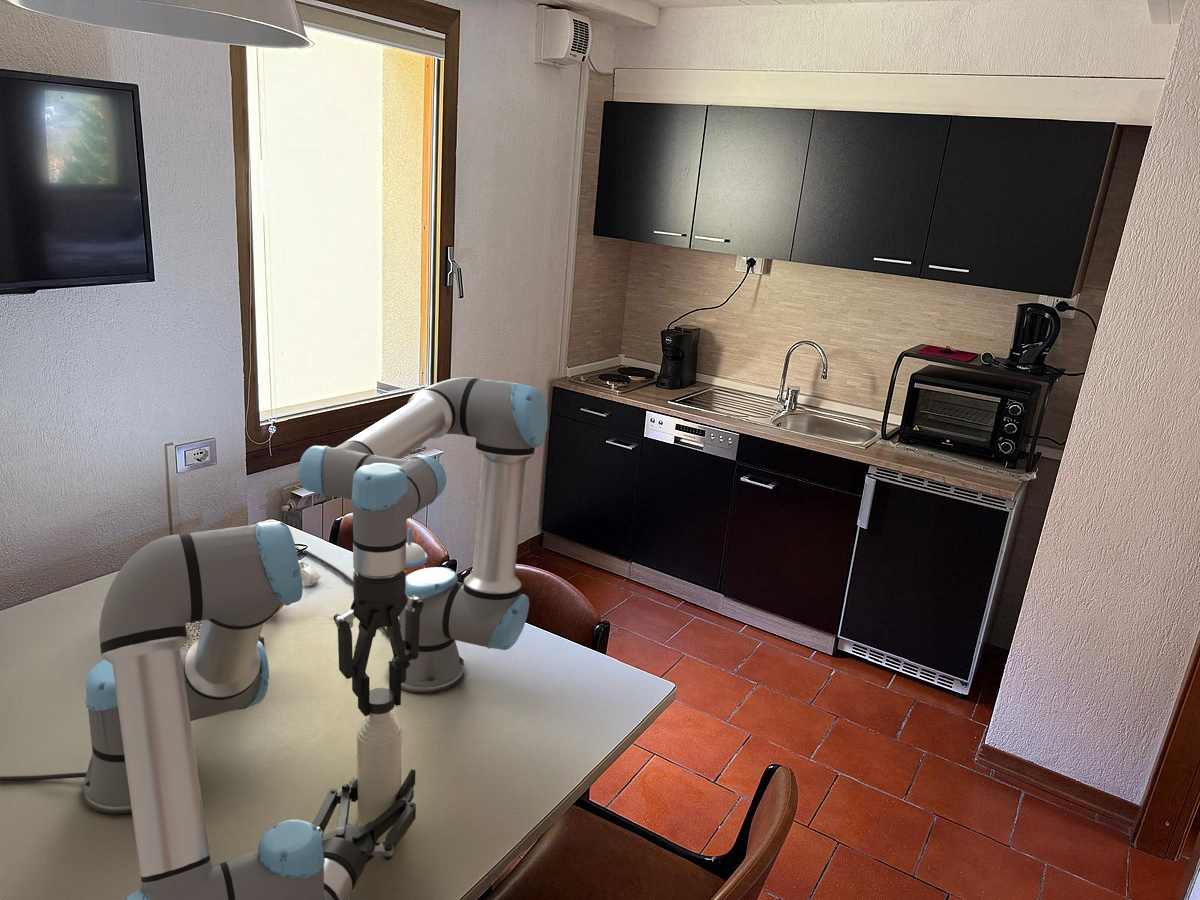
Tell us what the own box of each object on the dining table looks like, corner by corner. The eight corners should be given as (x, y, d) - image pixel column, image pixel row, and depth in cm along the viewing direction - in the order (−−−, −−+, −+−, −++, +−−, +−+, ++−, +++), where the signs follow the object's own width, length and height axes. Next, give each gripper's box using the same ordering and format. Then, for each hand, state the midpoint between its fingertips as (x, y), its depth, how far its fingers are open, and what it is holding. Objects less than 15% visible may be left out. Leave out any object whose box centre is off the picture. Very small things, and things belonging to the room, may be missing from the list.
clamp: (253, 565, 223) (254, 542, 221) (265, 560, 226) (266, 537, 224) (309, 593, 215) (310, 569, 213) (320, 588, 218) (321, 564, 216)
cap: (399, 700, 134) (399, 690, 133) (387, 716, 130) (387, 706, 129) (371, 695, 135) (371, 685, 134) (359, 711, 130) (358, 701, 130)
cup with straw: (418, 605, 211) (419, 537, 205) (383, 599, 212) (384, 532, 207) (432, 589, 219) (433, 524, 214) (399, 583, 221) (399, 519, 215)
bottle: (408, 831, 139) (409, 704, 131) (368, 849, 134) (368, 718, 127) (389, 807, 144) (390, 683, 136) (350, 823, 139) (349, 696, 132)
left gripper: (263, 886, 122) (335, 781, 144) (395, 911, 120) (448, 801, 142) (261, 843, 120) (334, 743, 142) (396, 868, 118) (449, 763, 139)
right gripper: (422, 548, 133) (420, 678, 140) (311, 571, 123) (314, 711, 130) (445, 566, 128) (441, 701, 135) (331, 592, 117) (333, 737, 124)
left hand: (391, 772), depth 142 cm, fingers closed on bottle, 7 cm apart
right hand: (379, 705), depth 132 cm, fingers closed on cap, 4 cm apart
